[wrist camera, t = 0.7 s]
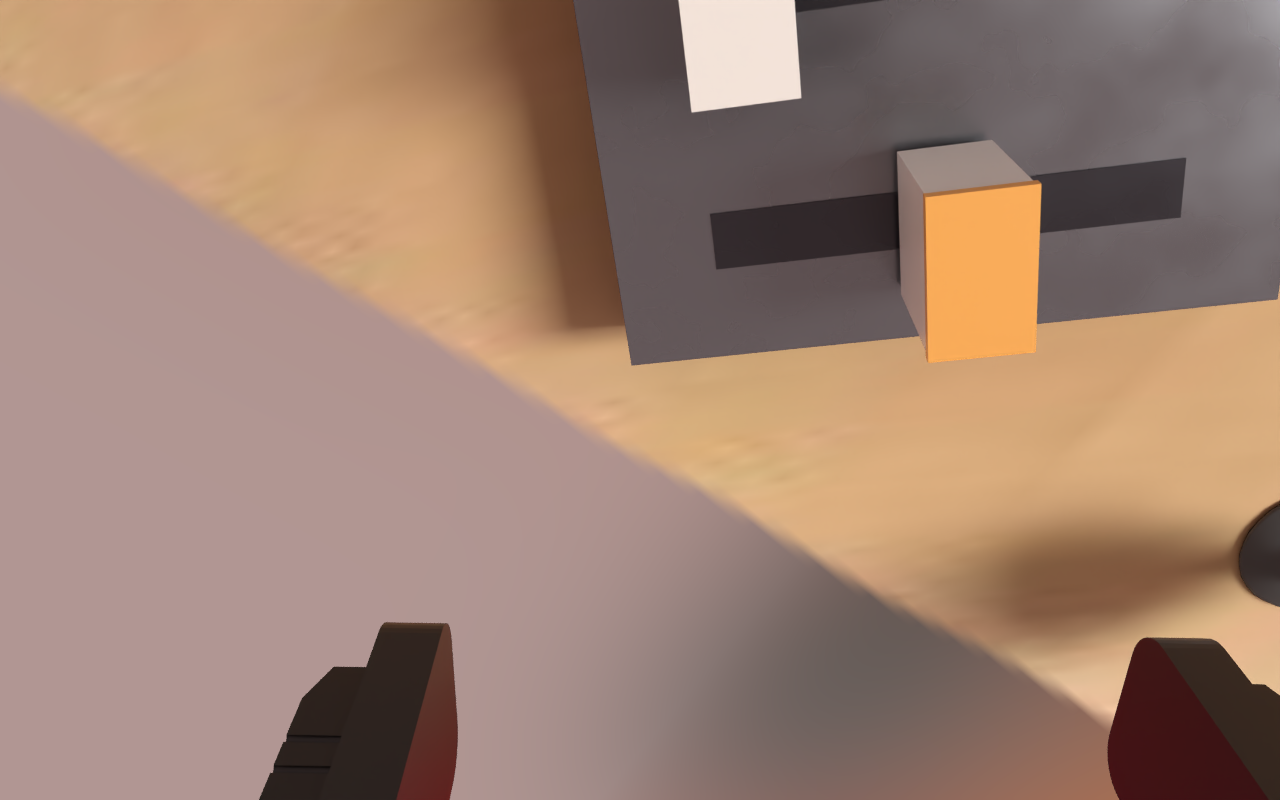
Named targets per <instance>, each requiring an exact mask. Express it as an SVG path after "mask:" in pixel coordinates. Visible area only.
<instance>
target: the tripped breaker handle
mask: <svg viewBox="0 0 1280 800" xmlns="http://www.w3.org/2000/svg"><path fill="white" fill-rule="evenodd" d="M897 171H898V205H899V239H900V274H901V295H902V298H903V300H904V302H905V305H906V307H907V309H908V311H909V314H910V316H911V318H912V320H913V323H914V325H915V327H916V329H917V332H918V334H919V336H920V339H921V341H922V343H923V345H924V348H925V350H926V359H927V361H928V363H932V362H942V361H952V360H962V359H972V358H982V357H992V356H1002V355H1013V354H1023V353H1033V352H1036V328H1037V299H1038V270H1039V241H1040V212H1041V183H1040V182H1039V181H1038V180H1034V181H1033V180H1032V179H1031V178H1030V177H1029V176H1028V175H1027V174H1026V173H1025V172H1024V171H1023V170H1022V169H1021V168H1020V167H1019V166H1018V165H1017V164H1016V163H1015V162H1014V161H1013V160H1012V159H1011V158H1010V157H1009V156H1008V155H1007V154H1006V153H1005V152H1004V151H1003V150H1002V149H1001V148H1000V147H999V146H998V145H997V144H996V143H995V142H994V141H993V140H986V141H978V142H970V143H962V144H954V145H946V146H938V147H929V148H921V149H913V150H905V151H897Z"/></svg>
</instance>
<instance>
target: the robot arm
mask: <svg viewBox="0 0 1280 800" xmlns="http://www.w3.org/2000/svg"><path fill="white" fill-rule="evenodd" d="M457 743H458V724H457V709H456V695H455V681H454V667H453V653H452V640H451V632H450V627H449V625H448V624H447V623H445V624H444V623H390V622H386V623H384V624H383V625H382V626H381V628H380V630H379V633H378V636H377V639H376V641H375V644H374V647H373V650H372V652H371V655H370V658H369V661H368V664H367V667H333V668H332V669H331V670H330V671H329V672H328V673H327V674H326V675H325V676H324V677H323V678H322V679H321V680H320V681H319V682H318V683H317V684H316V685H315V686H314V687H313V688H312V689H311V690H310V691H309V692H308V693H307V694H306V695H305V696H304V697H303V698H302V700H301V702H300V704H299V707H298V709H297V712H296V714H295V716H294V719H293V721H292V723H291V726H290V728H289V730H288V733H287V739H286V742H283V744H282V747H281V749H280V752H279V754H278V756H277V759H276V761H275V763H274V770H273V773H270V775H269V777H268V780H267V782H266V784H265V787H264V789H263V792H262V795H261V796H260V799H259V800H450V794H451V790H452V786H453V781H454V775H455V768H456V758H457ZM1108 765H1109V771H1110V776H1111V780H1112V784H1113V786H1114V789H1115V791H1116V794H1117V796H1118V798H1119V800H1280V695H1278V694H1277V693H1276V692H1274V691H1273V690H1271V689H1270V688H1269V687H1267V686H1266V685H1262V684H1252V683H1251V682H1250V681H1249V680H1248V678H1247V677H1246V676H1245V674H1244V673H1243V672H1242V671H1241V669H1240V668H1239V667H1238V665H1237V664H1236V663H1235V662H1234V660H1233V659H1232V658H1231V657H1230V655H1229V654H1228V653H1227V651H1226V650H1225V649H1224V648H1223V647H1222V646H1221V645H1220V644H1219V643H1218V642H1217V641H1215V640H1212V639H1203V638H1143V639H1142V640H1140V641H1139V642H1138V643H1137V645H1136V647H1135V648H1134V651H1133V654H1132V657H1131V661H1130V664H1129V668H1128V671H1127V675H1126V678H1125V682H1124V685H1123V689H1122V692H1121V696H1120V699H1119V703H1118V706H1117V710H1116V713H1115V717H1114V720H1113V724H1112V727H1111V731H1110V735H1109V740H1108Z"/></svg>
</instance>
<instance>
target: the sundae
mask: <svg viewBox="0 0 1280 800" xmlns="http://www.w3.org/2000/svg"><path fill="white" fill-rule="evenodd" d="M1239 567H1240V573H1241V577H1242V579H1243V581H1244V582H1245V584H1246V586H1247V587H1248V588H1249V589H1250V591H1251V592H1252V593H1253V594H1254V595H1256V596H1257V597H1259V598H1261V599H1262V600H1264V601H1266V602H1269V603H1271V604H1273V605H1276V606H1279V607H1280V505H1279V506H1277V507H1276V508H1274V509H1272V510H1271V511H1269V512H1268V513H1267V514H1266V515H1265V516H1264V517H1263V518H1262V519H1261V520H1259V522H1258V523H1257V524H1256V525H1255V526H1254V527H1253V528H1252V529H1251V531H1250V532H1249V534H1248V536H1247V538H1246V539H1245V541H1244V543H1243V546H1242V549H1241V552H1240V555H1239Z"/></svg>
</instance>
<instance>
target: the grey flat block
mask: <svg viewBox="0 0 1280 800" xmlns="http://www.w3.org/2000/svg"><path fill="white" fill-rule="evenodd" d="M573 2H574V8H575V14H576V21H577V27H578V33H579V39H580V46H581V52H582V58H583V64H584V71H585V77H586V83H587V89H588V96H589V102H590V108H591V114H592V121H593V127H594V133H595V139H596V146H597V152H598V158H599V164H600V171H601V177H602V183H603V189H604V196H605V202H606V208H607V214H608V221H609V227H610V233H611V239H612V246H613V252H614V258H615V264H616V271H617V277H618V283H619V289H620V296H621V302H622V308H623V314H624V321H625V327H626V333H627V339H628V346H629V352H630V358H631V364H632V365H641V364H651V363H660V362H670V361H680V360H690V359H700V358H709V357H719V356H729V355H739V354H748V353H758V352H768V351H778V350H787V349H797V348H807V347H817V346H827V345H836V344H846V343H856V342H866V341H875V340H885V339H895V338H905V337H914V336H919V334H918V332H917V329H916V327H915V325H914V323H913V320H912V318H911V316H910V314H909V311H908V309H907V307H906V305H905V302H904V300H903V298H902V295H901V274H900V239H899V205H898V171H897V151H905V150H913V149H921V148H929V147H938V146H946V145H954V144H962V143H970V142H978V141H986V140H993V141H994V142H995V143H996V144H997V145H998V146H999V147H1000V148H1001V149H1002V150H1003V151H1004V152H1005V153H1006V154H1007V155H1008V156H1009V157H1010V158H1011V159H1012V160H1013V161H1014V162H1015V163H1016V164H1017V165H1018V166H1019V167H1020V168H1021V169H1022V170H1023V171H1024V172H1025V173H1026V174H1027V175H1028V176H1029V177H1030V178H1031V179H1032V180H1033V181H1034V180H1038V181H1039V182H1040V183H1041V212H1040V241H1039V270H1038V299H1037V324H1041V323H1051V322H1061V321H1071V320H1081V319H1090V318H1100V317H1110V316H1120V315H1129V314H1139V313H1149V312H1159V311H1168V310H1178V309H1188V308H1198V307H1208V306H1217V305H1227V304H1237V303H1247V302H1256V301H1266V300H1276V299H1278V292H1279V285H1280V0H795V14H796V28H797V43H798V57H799V72H800V86H801V98H799V99H791V100H784V101H776V102H768V103H761V104H753V105H745V106H738V107H730V108H722V109H715V110H707V111H699V112H692V111H691V103H690V94H689V86H688V77H687V69H686V60H685V51H684V43H683V34H682V26H681V17H680V9H679V0H573Z"/></svg>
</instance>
